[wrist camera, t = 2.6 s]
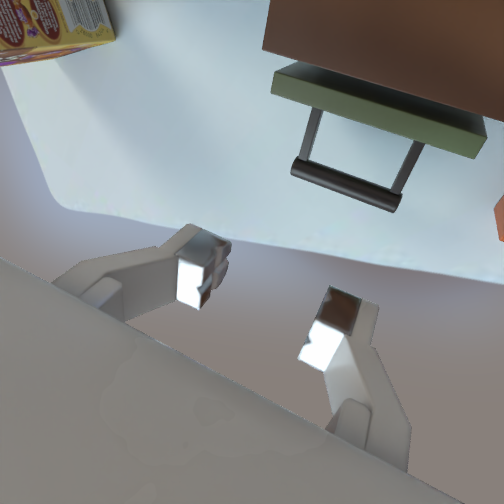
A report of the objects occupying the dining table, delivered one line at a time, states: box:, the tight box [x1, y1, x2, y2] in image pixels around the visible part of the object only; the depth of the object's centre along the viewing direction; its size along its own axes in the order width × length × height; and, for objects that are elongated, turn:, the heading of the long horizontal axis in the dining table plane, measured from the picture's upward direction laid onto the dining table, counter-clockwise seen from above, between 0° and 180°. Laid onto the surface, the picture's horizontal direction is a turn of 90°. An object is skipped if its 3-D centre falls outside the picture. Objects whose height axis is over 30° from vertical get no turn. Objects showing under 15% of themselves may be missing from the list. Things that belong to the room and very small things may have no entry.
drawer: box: [271, 61, 487, 213], centre depth 19 cm, size 18×11×6 cm, turn 169°
